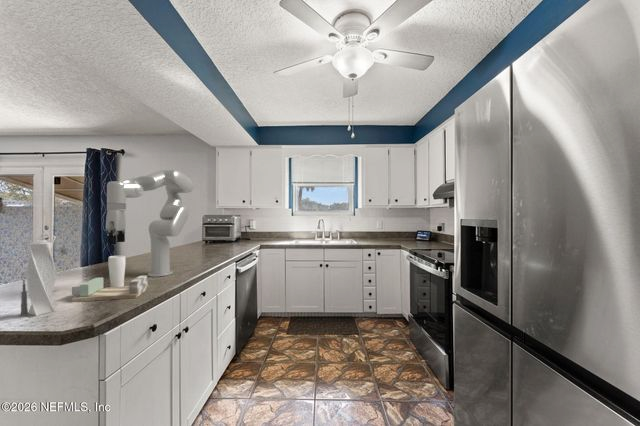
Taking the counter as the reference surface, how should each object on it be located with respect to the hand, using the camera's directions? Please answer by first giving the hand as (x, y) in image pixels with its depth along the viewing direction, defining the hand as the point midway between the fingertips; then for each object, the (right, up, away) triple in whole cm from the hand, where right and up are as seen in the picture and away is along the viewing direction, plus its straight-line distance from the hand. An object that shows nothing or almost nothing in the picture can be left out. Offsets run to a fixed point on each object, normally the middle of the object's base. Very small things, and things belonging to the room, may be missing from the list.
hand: (116, 243), depth 138 cm
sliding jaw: (-3, -20, -14) cm, 24 cm away
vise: (+7, -22, -11) cm, 25 cm away
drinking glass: (0, -22, 0) cm, 22 cm away
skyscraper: (-4, -22, -34) cm, 40 cm away
